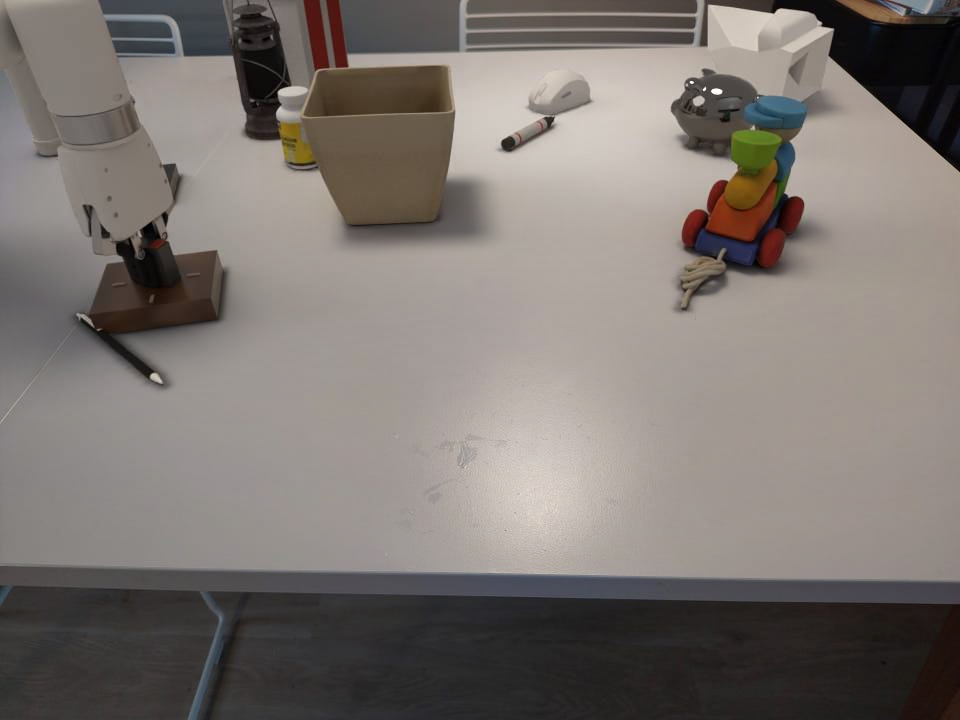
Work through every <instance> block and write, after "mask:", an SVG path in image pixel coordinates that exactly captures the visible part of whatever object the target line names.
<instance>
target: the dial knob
mask: <svg viewBox="0 0 960 720" xmlns="http://www.w3.org/2000/svg"><path fill="white" fill-rule="evenodd" d="M139 237H140V239H141V242H142V245H143V248H144V250H145V254H146V255H150V256H151V257H152V260H153V263H154V265H155V268H156V271H157V273H158V276H159V279H160V283H161V284H160V285H161V286H167V287H172V286H173V285H175V284H176V283H177V282H178V281H179V280H180V279H181V275H180V272H179V269H178V267H177V264H176V261H175V258H174V255H175V254H174V252H173V249H172V247H171V244H170V241H169V240H167V241H166V240H165V239H150V238H143V237H142V236H139ZM125 242H126V244H128V245H130V244H129V242H128V240H126V239H125ZM121 259H122V262H124V263H125V266H126V268H127V271H128V273H129V276H130V278H131V280H132V281H134V279H133V277H132V274H131V272H130V269H129V267H128V264H127V262H126V259H125V257H121Z"/></svg>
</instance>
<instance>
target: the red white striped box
mask: <svg viewBox="0 0 960 720" xmlns="http://www.w3.org/2000/svg"><path fill="white" fill-rule="evenodd" d="M269 1H270V4H271V7H272V9H273V12H274V14H275V17H276V19H277V22H278V23H279V25H280V29H281V31H279V33H280V38H281V42H282V46H283V50H284V55H285V59H286V63H287V68H288V72H289V76H290V80H291V86H301V87H305V88H307V89H308V92H309V90H310V87H311V85H312V81H313V78H314V75H315V72H316V71H317V70H319V69H327V68H350V65H349V56H348V49H347V42H346V33H345V28H344V19H343V12H342V4H341V0H269ZM221 2H222V6H223V10H224V16H225V19H226V24H227V27H228V31H229V37H230V36H231V34H232V26H231V0H222V1H221ZM249 4H257V5H262V6H265V7H266V8H267V10H266V11H264V12H261V15H263V16H267V17H270V18H272V19H273V21H275V18H274V16H273V13H272V11H271V8H270V6H269V3H268V1H267V0H249ZM242 5H247V0H233V9H235V8H237V7H239V6H242ZM238 18H240V14H234V13H233V21H234V20H236V19H238ZM268 27H270V26H268ZM236 30H238V27H234V26H233V31H234V32H235V31H236ZM270 36H271V39H272V40H273V36H272V35H270ZM238 42H239V44H240V42H241V39H240V38H239V40H238ZM253 101H255V100H252V99H250V102H253Z"/></svg>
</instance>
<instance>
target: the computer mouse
mask: <svg viewBox="0 0 960 720" xmlns="http://www.w3.org/2000/svg"><path fill="white" fill-rule="evenodd" d="M590 99H591V88H590V85H589V82H588V81H587V80H586V78H585V77H584V76H583V75H582V74H579V73H577V72H575V71H573V70H571V69H565V68H561V69H554V70H552V71H550V72H549V73H547V74H546V75H545V76H543V77H542V78H541V79H539V81H537V82H536V84H535V85H534V86H533V87H532V88H531V89H530V92H529V94H528V99H527V100H528V106H529V107H528V108H529V109H530V110H532V111H534V112H537V113H539V114H542V115H549V116H552V115H556V114H559V113H561V112H564V111H567V110H570V109H572V108H575V107H578V106H581V105H584V104H586V103H588V102H589V101H590Z"/></svg>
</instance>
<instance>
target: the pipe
mask: <svg viewBox="0 0 960 720" xmlns="http://www.w3.org/2000/svg"><path fill="white" fill-rule="evenodd" d="M3 71H4V73H5V75H6V78H7V80H8V83H9V85H10V86H11V89H12V91H13V93H14V96H15V98H16V100H17V103H18V104H19V107H20V109H21V112H22V114H23V116H24V118H25V121H26V124H27V125H28V128H29V129H30V133H31V135H32V137H31V142H32V143H33V144H34V145H35V148H36V150H37V152H38V154H39V155H41V156H46V157H50V156H58V152H57V148H58V147H59V146H61V145H62V142H61V140H60V137H59V135H58V133H57V130H56V128H55V125H54V123H53V121H52V118H51V116H50V113H49V110H48V109H47V106H46V104H45V101H44V99H43V97H42V94H41V92H40V90H39V87H38V85H37V82H36V80H35V77H34V75H33V73H32V70H31V68H30V66H29V63H28V61H27V62H24V63H21V64H18V65H15V66H11V67H9V68H6V69H4V70H3Z"/></svg>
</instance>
